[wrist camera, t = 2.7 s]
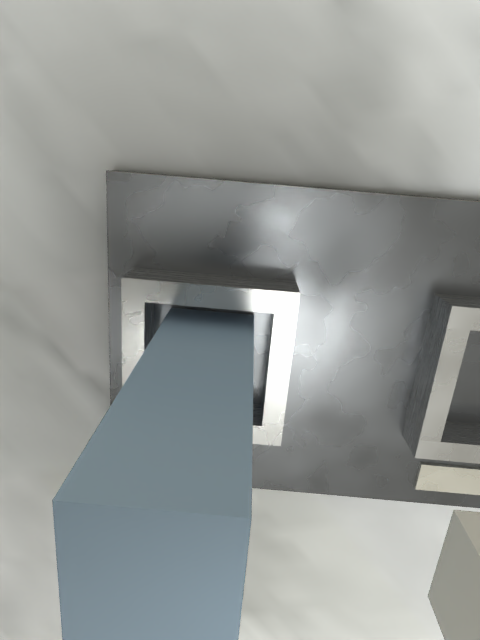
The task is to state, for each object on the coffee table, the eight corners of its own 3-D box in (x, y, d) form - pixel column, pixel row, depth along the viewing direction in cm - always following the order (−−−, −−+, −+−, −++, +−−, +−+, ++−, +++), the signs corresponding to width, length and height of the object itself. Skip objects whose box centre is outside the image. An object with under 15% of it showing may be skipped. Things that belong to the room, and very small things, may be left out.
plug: (168, 401, 23) (65, 673, 11) (171, 307, 21) (52, 500, 9) (245, 408, 23) (232, 690, 10) (254, 314, 21) (251, 518, 9)
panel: (117, 463, 25) (99, 501, 23) (113, 170, 20) (89, 170, 17) (535, 501, 25) (571, 543, 22) (640, 214, 20) (704, 222, 17)
